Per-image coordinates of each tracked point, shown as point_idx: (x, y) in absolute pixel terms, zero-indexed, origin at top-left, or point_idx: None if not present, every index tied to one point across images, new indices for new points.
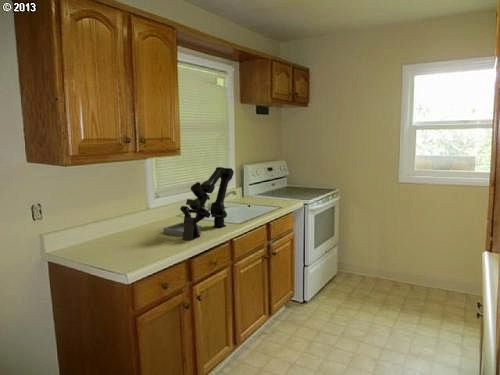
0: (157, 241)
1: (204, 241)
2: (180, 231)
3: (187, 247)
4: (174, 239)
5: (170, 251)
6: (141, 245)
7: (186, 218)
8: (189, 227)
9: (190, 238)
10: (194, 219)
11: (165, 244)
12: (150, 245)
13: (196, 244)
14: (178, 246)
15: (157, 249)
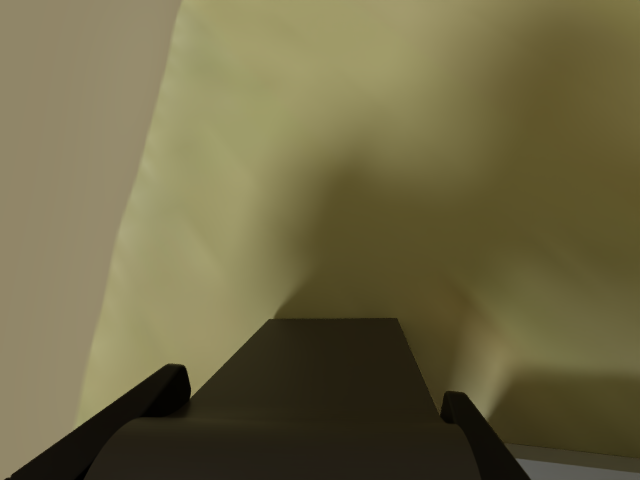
0: (591, 146)
1: (117, 371)
2: (565, 462)
3: (185, 142)
4: (484, 284)
5: (257, 19)
6: (606, 3)
7: (403, 458)
8: (291, 376)
9: (271, 322)
10: (75, 460)
11: (430, 115)
12: (532, 37)
13: (150, 245)
14: (276, 127)
15: (386, 3)
